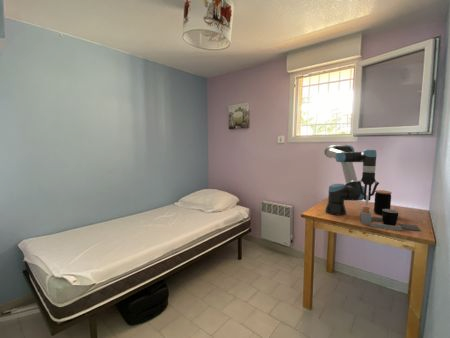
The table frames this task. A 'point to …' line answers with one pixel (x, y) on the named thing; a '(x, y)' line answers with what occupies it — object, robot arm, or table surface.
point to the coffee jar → (382, 201)
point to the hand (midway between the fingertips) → (366, 204)
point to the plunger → (366, 209)
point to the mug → (389, 216)
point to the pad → (409, 227)
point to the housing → (367, 219)
